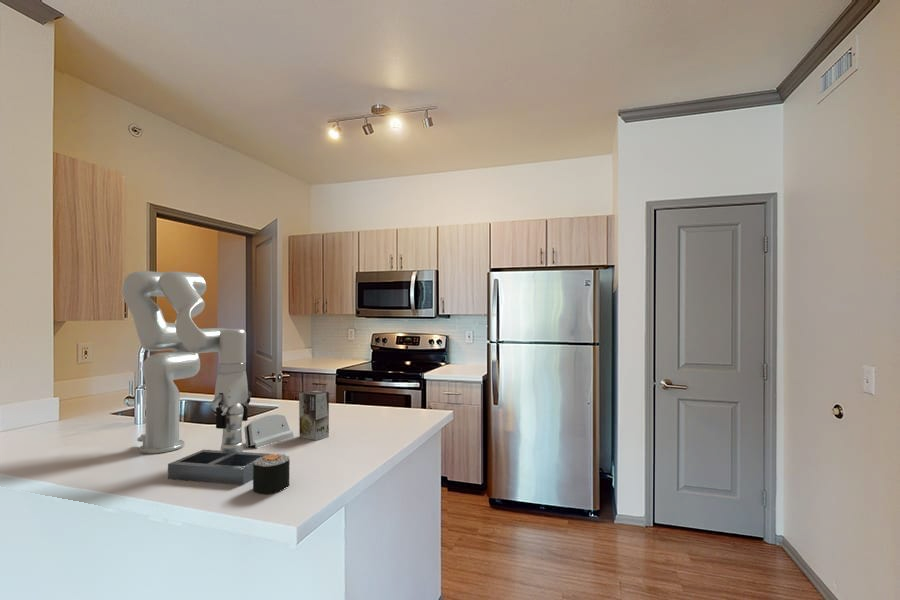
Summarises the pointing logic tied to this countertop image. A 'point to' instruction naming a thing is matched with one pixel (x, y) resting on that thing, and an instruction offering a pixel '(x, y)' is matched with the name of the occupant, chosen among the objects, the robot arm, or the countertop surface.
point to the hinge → (267, 430)
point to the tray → (215, 466)
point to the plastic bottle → (233, 429)
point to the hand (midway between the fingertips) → (232, 424)
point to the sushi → (271, 473)
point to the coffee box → (314, 414)
